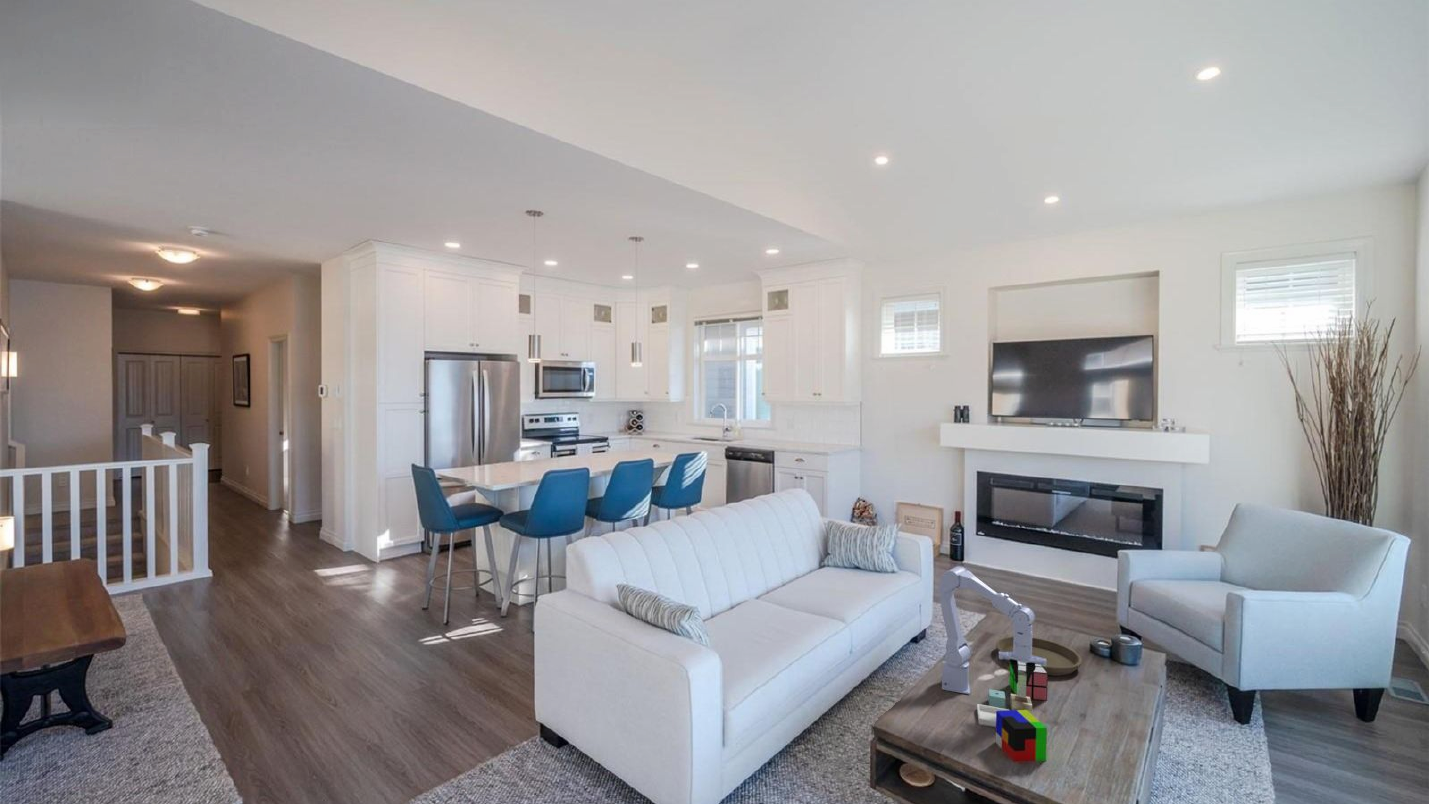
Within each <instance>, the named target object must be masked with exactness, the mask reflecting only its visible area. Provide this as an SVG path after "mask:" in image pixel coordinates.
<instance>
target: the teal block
mask: <svg viewBox="0 0 1429 804" xmlns="http://www.w3.org/2000/svg"><path fill="white" fill-rule="evenodd" d="M987 696H988V706H992V707H998V708H1003V709H1006V693H1005V691H1002V690H998V689H997V690H995V689H990V688H989V689H988V695H987Z"/></svg>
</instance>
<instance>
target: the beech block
mask: <svg viewBox="0 0 1429 804" xmlns="http://www.w3.org/2000/svg"><path fill="white" fill-rule="evenodd" d="M1010 708H1011V710H1027V711H1029V712H1030V713H1031V714H1032V715H1033V703H1032V699H1030V697H1027V696H1026V697H1021V696H1018V695H1016V694H1015V693H1010Z"/></svg>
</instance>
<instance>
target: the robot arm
mask: <svg viewBox="0 0 1429 804" xmlns="http://www.w3.org/2000/svg"><path fill="white" fill-rule="evenodd" d="M939 580H940V581H939V583H938V587H937V594H938V599H939V603H940V609H941V613H942V617H943V622H944V627H945V631H946V636H947V639H946V643H945V654H944V655H945V660H946V661H945V660H944V661H941V663H942V666H941V667H942V668H941V672H942V673H941V677H940V682H941V689H942V690H943V691H948V692H953V693H958V694H959V693H961V694H965V695H970V694H971V691H970V690H971V689H970V682H969V676H970V675H969V674H970V667H969V666H970V663H969V660H970V659H971V657H972V656H973V651H972V648H971V646H970V645H969V643H968V640H967V638H966V637H964V636H963V632H962V626H961V622H960V618H959V612H958V608H957V604H956V599H955V595H954V593H955V592H956V590H958V588H959V589H972V590H973V591H975V592H976V593H978V594H980V595H981V596H983V597H984V598H986V599H987V600H989V601H990V602H991V604H992V607H994V608H995V609H997V610H998V611H999V612H1001V613H1003V614H1004V615H1005V616H1007V617H1008V618H1009V619H1011V622H1012V623H1013V636H1014V641H1013V652H999V651H998V659H999V660H1005V659H1007V660H1010V663H1009V665H1010V664H1011V667H1012V669H1013V671H1014V675H1015V682H1016V683H1018V661H1020V662H1022V663H1026V674H1027V676H1026V685H1028V683H1029V680H1030V677H1031V675H1032V673H1033V672H1034V670H1035V668H1036V666H1035V664H1039V665H1043V666H1046V665H1047V661H1046V659H1045V658H1040V657H1036V656H1033V655H1032V637H1033V622H1034V621H1035V619H1036V614H1035V612H1034V610H1032V609H1031V607H1029V606H1027V605H1023V604H1022V603H1018V602H1017V601H1015V600H1014V599H1012V598H1010V595H1009V594H1007V593H1004V592H999V593H998V592H996V591H995V590H994V589H993V588H991V587H989V585H987V584H986V583H984V582H983V581H981V580H980V579H979V578H978V577H977V576H975V575H974V574H973V572H971V571H970V570H968V569H966V568H965V567H964V566H962V565H957V566H954V567H953V568H951V569H949V570H945V571H944V572H943V573H942V574H941V575H939Z"/></svg>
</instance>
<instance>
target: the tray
mask: <svg viewBox="0 0 1429 804" xmlns="http://www.w3.org/2000/svg"><path fill="white" fill-rule="evenodd" d="M976 710H977V711H976V712H977V720H978V725H981V726H987V727H992V728H996V711H1009V710H1010V709H1009V708H1008V709H1007V708H1005V709H1003V708H998V707H992V706H989V705H985V704H982V703H981V704H979V703H977V704H976Z"/></svg>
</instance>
